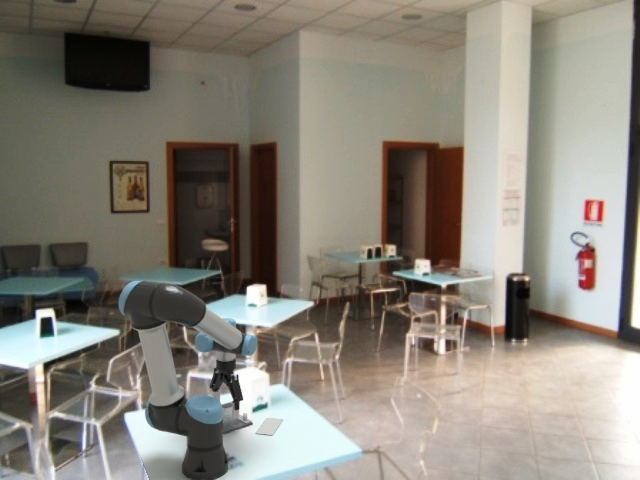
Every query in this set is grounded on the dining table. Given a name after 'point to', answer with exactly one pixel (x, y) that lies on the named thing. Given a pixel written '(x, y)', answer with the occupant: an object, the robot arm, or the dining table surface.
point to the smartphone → (269, 426)
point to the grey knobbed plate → (238, 424)
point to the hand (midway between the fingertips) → (225, 412)
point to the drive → (228, 415)
